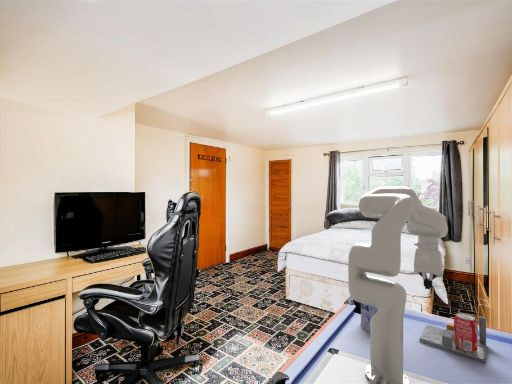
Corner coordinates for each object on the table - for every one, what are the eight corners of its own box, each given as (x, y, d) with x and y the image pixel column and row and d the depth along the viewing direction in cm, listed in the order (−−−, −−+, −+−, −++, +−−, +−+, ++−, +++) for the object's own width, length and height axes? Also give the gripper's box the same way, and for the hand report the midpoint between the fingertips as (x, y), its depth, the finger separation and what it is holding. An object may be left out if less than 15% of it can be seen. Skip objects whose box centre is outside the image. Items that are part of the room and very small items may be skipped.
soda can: (469, 343, 102) (468, 312, 102) (483, 354, 95) (482, 321, 95) (449, 342, 102) (449, 311, 103) (462, 353, 95) (461, 320, 96)
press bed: (484, 364, 92) (484, 332, 92) (418, 342, 105) (418, 314, 105) (486, 345, 103) (486, 317, 104) (426, 327, 117) (426, 303, 117)
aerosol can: (356, 324, 120) (356, 280, 120) (369, 321, 123) (368, 278, 123) (370, 332, 113) (370, 286, 113) (383, 328, 116) (383, 283, 116)
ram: (451, 347, 99) (451, 338, 99) (442, 344, 101) (442, 335, 101) (456, 332, 110) (456, 324, 110) (447, 330, 112) (447, 322, 112)
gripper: (406, 245, 118) (406, 286, 117) (447, 249, 108) (447, 295, 107) (411, 243, 123) (410, 282, 123) (450, 248, 113) (450, 290, 113)
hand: (427, 288), depth 115 cm, fingers closed
